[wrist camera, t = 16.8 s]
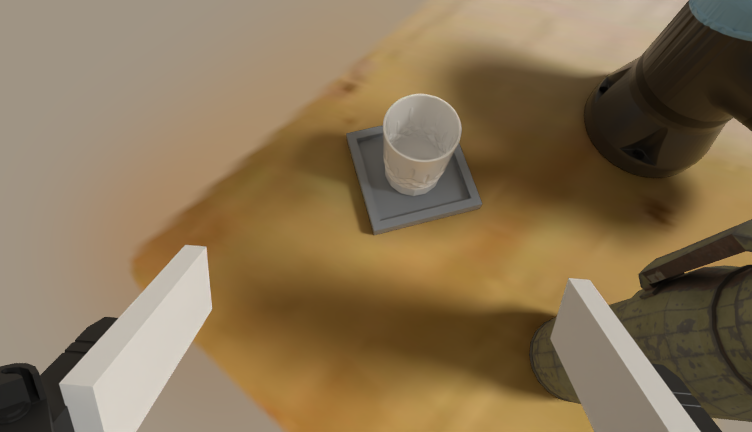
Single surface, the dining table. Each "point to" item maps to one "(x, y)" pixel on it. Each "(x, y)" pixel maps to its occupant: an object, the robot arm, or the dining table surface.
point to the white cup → (418, 142)
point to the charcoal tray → (400, 209)
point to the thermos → (684, 325)
